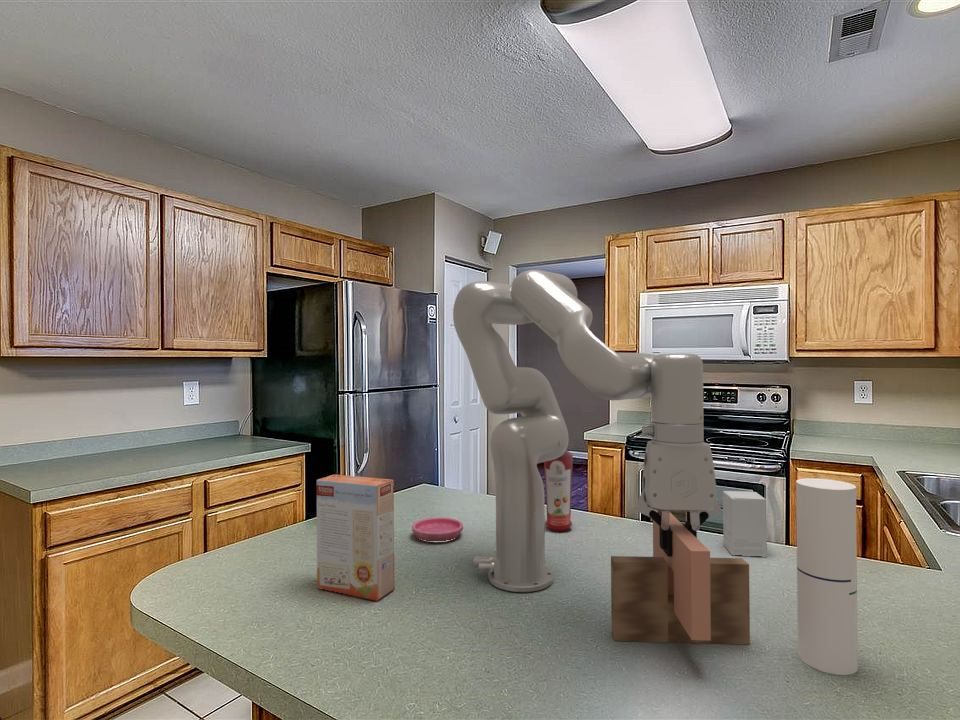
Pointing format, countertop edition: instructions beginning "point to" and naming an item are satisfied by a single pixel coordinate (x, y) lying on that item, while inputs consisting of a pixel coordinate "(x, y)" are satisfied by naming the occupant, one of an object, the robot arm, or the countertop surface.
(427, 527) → the saucer
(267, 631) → the countertop surface
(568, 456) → the liquor
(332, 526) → the cracker box
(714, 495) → the robot arm
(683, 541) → the terracotta slotted plate
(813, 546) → the cylindrical container
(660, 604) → the walnut slotted plate
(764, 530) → the supplement box
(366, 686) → the countertop surface
